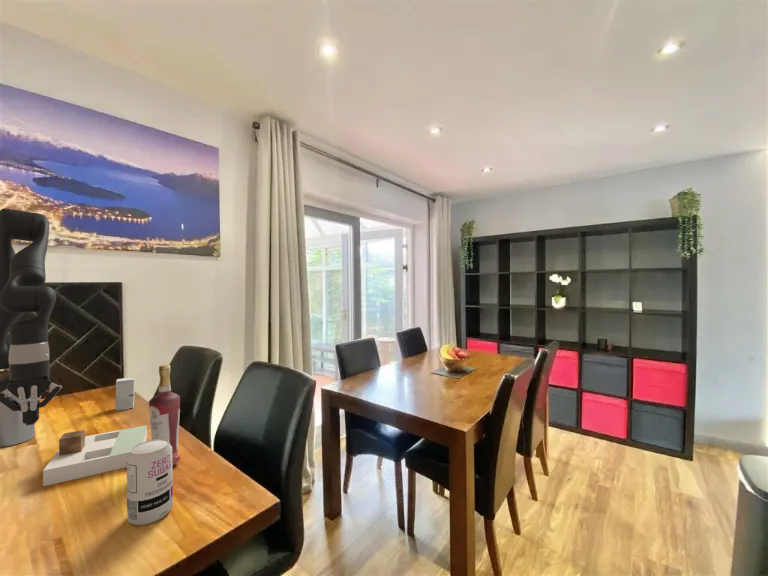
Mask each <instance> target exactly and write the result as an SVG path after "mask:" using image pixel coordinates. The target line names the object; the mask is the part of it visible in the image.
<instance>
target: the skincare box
mask: <svg viewBox="0 0 768 576" xmlns="http://www.w3.org/2000/svg"><path fill="white" fill-rule="evenodd" d="M134 406H135V377H123V378H117V379H116V381H115V409H114V410H115V412H117V411H125V410H131V409H130V408H132V409H134Z"/></svg>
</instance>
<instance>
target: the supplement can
mask: <svg viewBox="0 0 768 576" xmlns="http://www.w3.org/2000/svg"><path fill="white" fill-rule="evenodd" d="M173 474H174V473H173V467H172V446H171V445H170V443H169V441H168V440H166V439H155V440H152V439H151V440H150V439H149V440H146V442H143V443H140V444H138V445H136V446H134V447H133V448H132V449H131V451H130V453H129V455H128V457H127V467H126V505H127V506H126V508H127V509H126V511H127V512H126V513H127V515H126V517H127V522H129V523H130V524H132V525H134V526H146V525H150V524H153V523H155V522H157V521H159V520H160V519H162V518H164V517H165V516H166V515H167V514H168V513H169V512H170V511H171V510H172V508H173V507H174V506H173V505H174V504H173V503H174V501H173V500H174V498H173V497H174V496H173V495H174V494H173V493H174V491H173V489H174V487H173V484H174V483H173V482H174V481H173Z"/></svg>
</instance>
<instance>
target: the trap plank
mask: <svg viewBox="0 0 768 576" xmlns="http://www.w3.org/2000/svg"><path fill="white" fill-rule="evenodd" d="M147 439H148V425H140V426H136V427H130V428H123V429H119V430H113V431H108V432H101V433H97V434H92V435H91V434H90V435H85V446H84V448H83V449H82V451H81V452H77V453H72V454H67V455H62V456H59V449H58V450H57V451H56V453H55V454H53V455H54V456H52V458H51V459H50V461H49V462H48V464H46V466H45V467H44V469H43V470H42V486H43V487H47V486H50V485H51V486H52V485H56V484H60V483H64V482H68V481H73V480H77V479H82V478H85V477H90V476H94V475H95V476H96V475H101V474H104V473H108V472H111V471H112V472H113V471H116V470H121V469H127V457H128V455H129V453H130V451H131V449H132V448H133V447H134V446H136V445H138V444H140V443H143V442H146V441H147Z"/></svg>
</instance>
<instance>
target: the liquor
mask: <svg viewBox="0 0 768 576" xmlns="http://www.w3.org/2000/svg"><path fill="white" fill-rule="evenodd" d="M170 374H171V365H170V364H164V365H163V364H162V365H159V366H158V375H159V383H158V384H159V386H158V394H157V395H154V396H152V398H150V399H149V400H148V407H149V411H148V412H149V423H150V436H151V440H155V439H166V440H168V441H169V443H170V445H171V446H172V468H173V467H174V466H175V465H176V464H177V463H178V462H179V460H180V459H181V457H180V456H179V429H180V427H179V426H180V415H181V414H180V413H181V409H180V408H181V407H180V406H181V395H179V394H177V393H176V392H173V391H172V388H171V379H170V378H171V377H170Z"/></svg>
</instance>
